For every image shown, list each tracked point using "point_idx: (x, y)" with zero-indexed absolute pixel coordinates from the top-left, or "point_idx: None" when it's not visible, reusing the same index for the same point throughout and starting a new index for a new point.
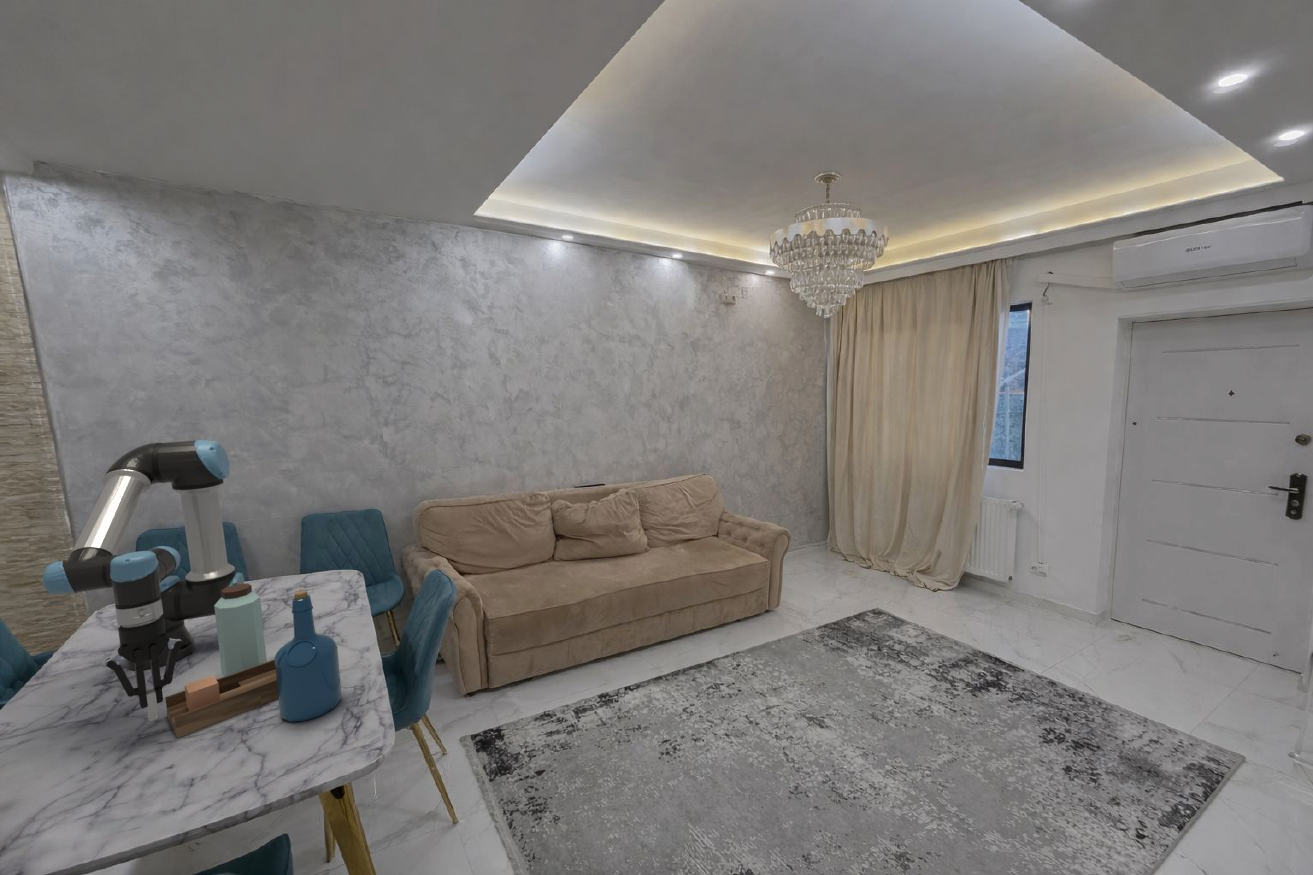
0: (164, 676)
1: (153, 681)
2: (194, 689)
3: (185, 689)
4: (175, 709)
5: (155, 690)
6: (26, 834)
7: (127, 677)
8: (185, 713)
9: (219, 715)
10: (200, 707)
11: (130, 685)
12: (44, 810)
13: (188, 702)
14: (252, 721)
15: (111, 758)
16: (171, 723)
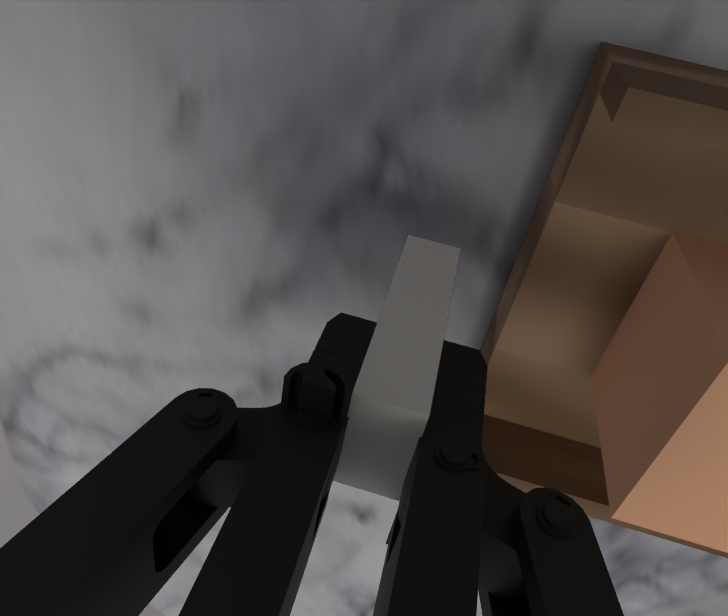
0: (523, 569)
1: (382, 582)
2: (676, 508)
3: (694, 371)
4: (605, 199)
5: (386, 541)
6: (28, 434)
7: (79, 596)
8: (515, 485)
9: None
10: (599, 505)
11: (149, 592)
12: (48, 373)
13: (630, 373)
14: (703, 552)
15: (232, 255)
16: (527, 238)
